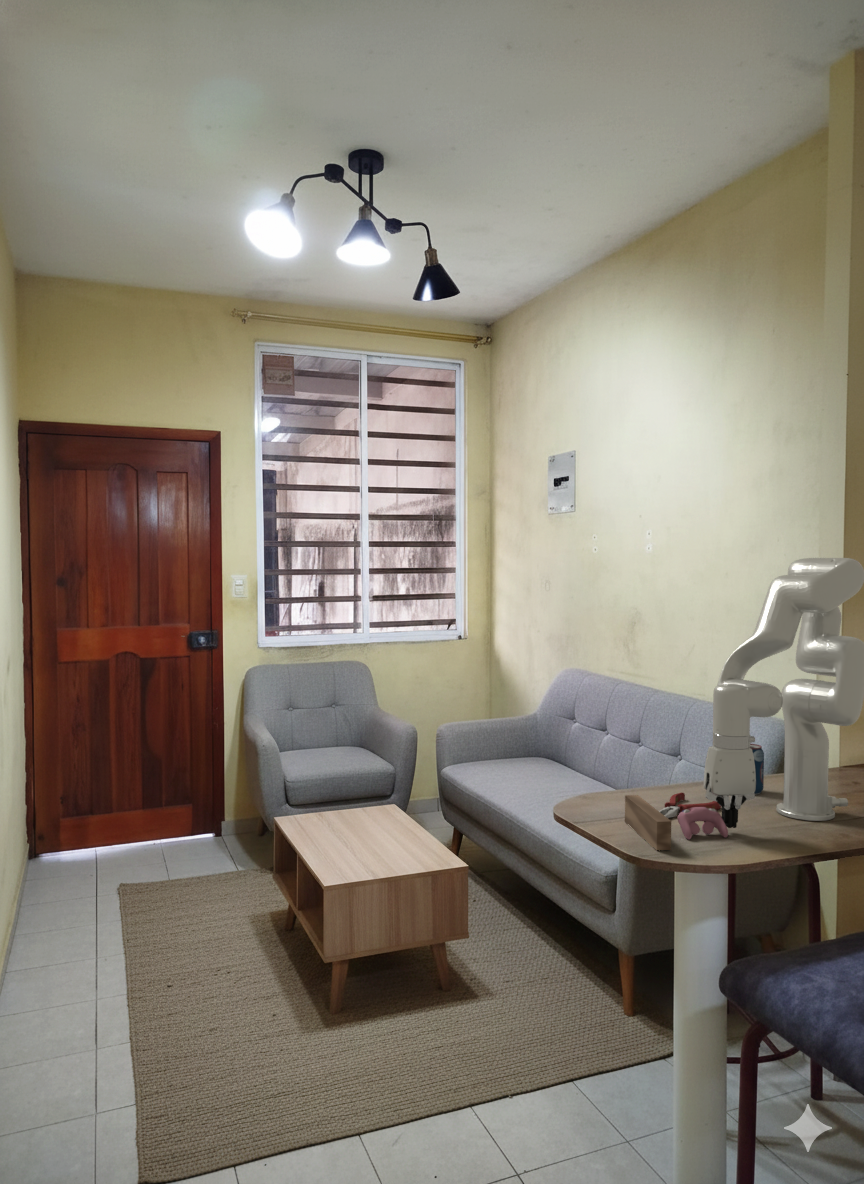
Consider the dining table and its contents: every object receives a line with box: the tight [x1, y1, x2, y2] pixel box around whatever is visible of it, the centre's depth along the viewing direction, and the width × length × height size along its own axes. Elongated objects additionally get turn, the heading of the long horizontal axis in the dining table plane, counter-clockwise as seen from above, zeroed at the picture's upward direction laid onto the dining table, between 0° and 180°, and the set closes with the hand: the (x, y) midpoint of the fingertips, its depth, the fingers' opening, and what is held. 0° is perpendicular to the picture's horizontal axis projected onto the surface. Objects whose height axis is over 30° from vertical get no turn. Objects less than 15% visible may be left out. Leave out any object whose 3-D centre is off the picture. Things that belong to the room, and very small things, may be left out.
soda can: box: [749, 743, 765, 795], centre depth 220 cm, size 7×7×12 cm
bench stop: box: [624, 794, 672, 852], centre depth 183 cm, size 3×20×6 cm, turn 6°
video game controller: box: [677, 807, 729, 840], centre depth 184 cm, size 10×5×7 cm, turn 100°
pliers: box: [658, 792, 722, 819], centre depth 202 cm, size 11×20×3 cm, turn 135°
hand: (729, 826), depth 185 cm, fingers closed
